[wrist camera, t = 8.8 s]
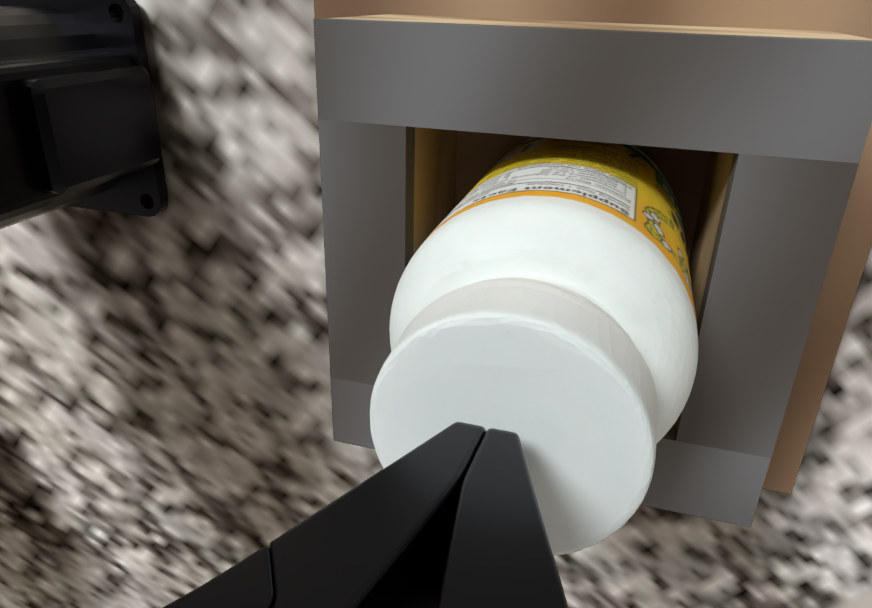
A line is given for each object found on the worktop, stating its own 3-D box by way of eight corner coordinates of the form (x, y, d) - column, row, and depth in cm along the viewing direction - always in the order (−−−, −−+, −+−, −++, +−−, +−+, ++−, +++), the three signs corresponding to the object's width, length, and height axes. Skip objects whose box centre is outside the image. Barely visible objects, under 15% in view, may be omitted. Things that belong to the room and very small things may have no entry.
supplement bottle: (488, 111, 17) (327, 219, 8) (709, 144, 16) (775, 309, 7) (463, 301, 19) (317, 534, 11) (654, 343, 18) (656, 640, 10)
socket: (342, 392, 23) (270, 485, 18) (324, -76, 17) (210, -101, 13) (786, 476, 19) (825, 614, 15) (958, -73, 13) (1105, -107, 9)
